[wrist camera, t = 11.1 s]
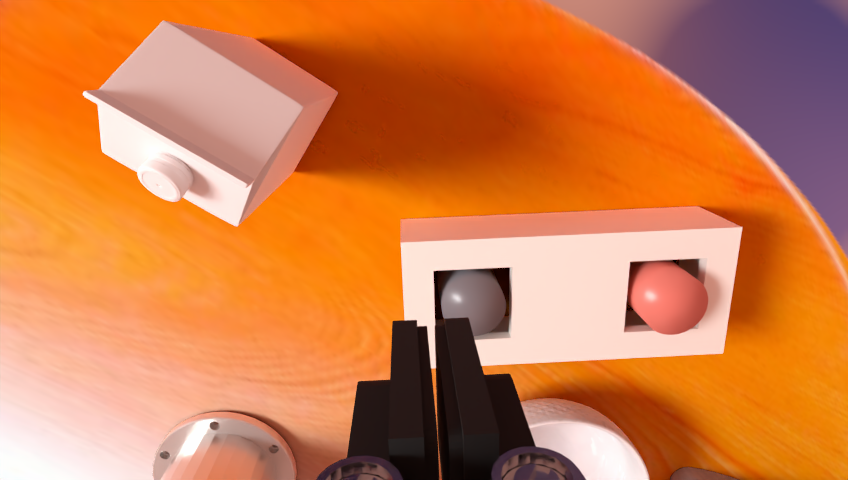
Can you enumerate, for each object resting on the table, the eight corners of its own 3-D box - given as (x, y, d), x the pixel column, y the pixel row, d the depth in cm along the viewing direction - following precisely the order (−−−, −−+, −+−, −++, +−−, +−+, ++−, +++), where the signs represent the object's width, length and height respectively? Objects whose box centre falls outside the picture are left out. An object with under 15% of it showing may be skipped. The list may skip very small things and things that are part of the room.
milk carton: (252, 36, 38) (118, 10, 20) (339, 92, 40) (287, 113, 22) (208, 122, 40) (49, 168, 22) (293, 172, 41) (209, 254, 23)
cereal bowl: (518, 549, 54) (535, 618, 47) (403, 451, 50) (403, 512, 43) (655, 449, 51) (693, 507, 44) (543, 336, 47) (567, 381, 40)
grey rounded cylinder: (493, 303, 45) (505, 334, 39) (437, 305, 44) (442, 337, 39) (493, 250, 43) (506, 275, 38) (436, 253, 43) (441, 279, 38)
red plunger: (667, 301, 44) (703, 333, 38) (611, 304, 44) (640, 336, 38) (673, 247, 42) (712, 273, 37) (615, 250, 42) (646, 276, 37)
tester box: (683, 318, 47) (723, 353, 41) (406, 331, 46) (407, 369, 40) (697, 206, 44) (742, 227, 38) (400, 219, 43) (400, 242, 37)
